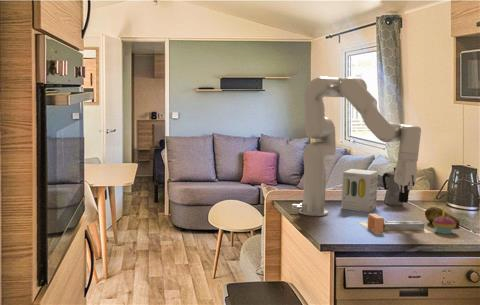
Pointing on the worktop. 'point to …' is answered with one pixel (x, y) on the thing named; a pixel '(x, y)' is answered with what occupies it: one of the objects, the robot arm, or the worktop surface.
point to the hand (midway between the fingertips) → (403, 201)
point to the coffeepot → (391, 189)
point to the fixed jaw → (403, 226)
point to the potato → (438, 215)
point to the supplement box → (359, 190)
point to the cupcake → (444, 224)
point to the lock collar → (375, 222)
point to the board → (393, 231)
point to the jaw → (403, 222)
